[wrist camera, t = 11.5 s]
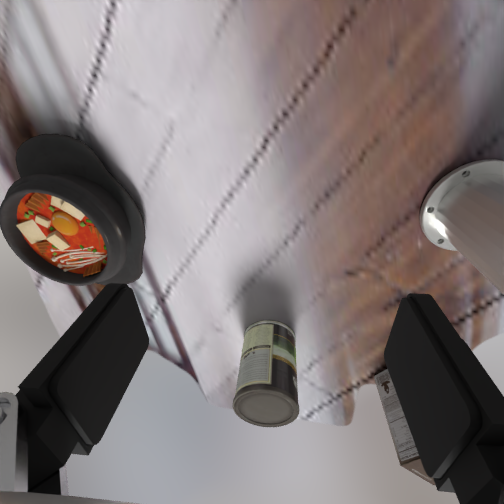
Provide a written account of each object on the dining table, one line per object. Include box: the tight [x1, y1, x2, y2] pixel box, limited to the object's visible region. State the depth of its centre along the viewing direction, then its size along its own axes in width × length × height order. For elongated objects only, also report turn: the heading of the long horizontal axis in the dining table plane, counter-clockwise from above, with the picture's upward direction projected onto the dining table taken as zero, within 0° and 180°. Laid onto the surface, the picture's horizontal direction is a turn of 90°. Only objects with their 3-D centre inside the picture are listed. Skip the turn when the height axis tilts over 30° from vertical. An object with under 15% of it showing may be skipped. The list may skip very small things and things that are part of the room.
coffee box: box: [374, 369, 435, 485], centre depth 50 cm, size 9×6×16 cm
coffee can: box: [233, 320, 299, 427], centre depth 48 cm, size 10×10×14 cm
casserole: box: [0, 134, 145, 286], centre depth 40 cm, size 25×19×8 cm
